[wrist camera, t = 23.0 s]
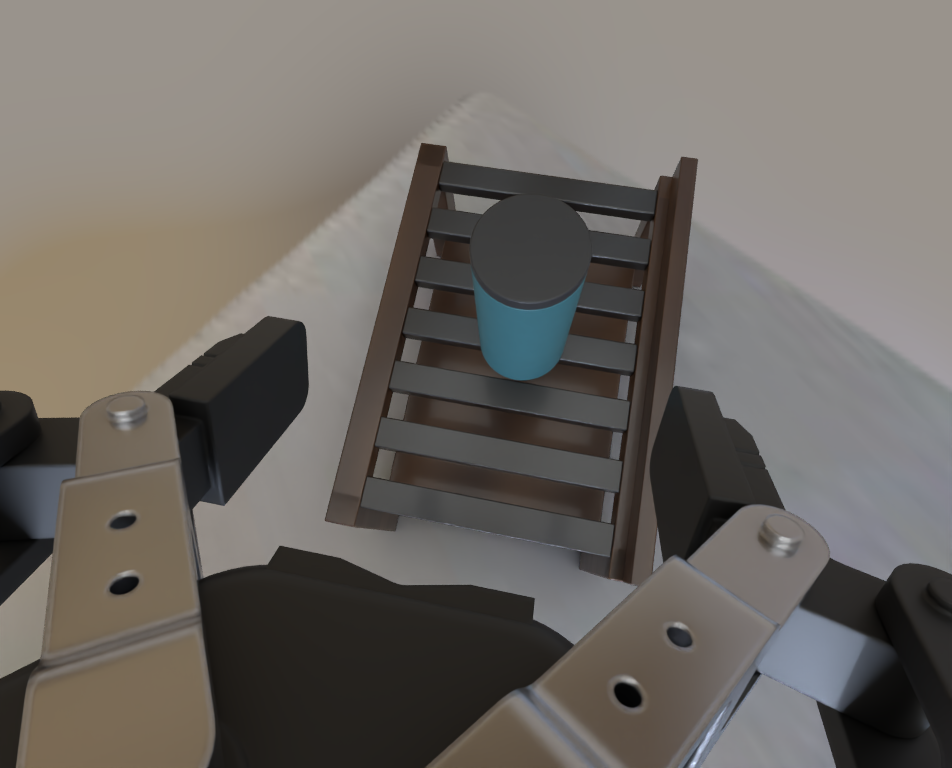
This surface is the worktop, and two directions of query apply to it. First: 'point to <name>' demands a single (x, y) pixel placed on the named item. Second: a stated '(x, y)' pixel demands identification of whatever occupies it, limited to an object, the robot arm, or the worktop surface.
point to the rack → (522, 401)
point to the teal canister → (527, 281)
